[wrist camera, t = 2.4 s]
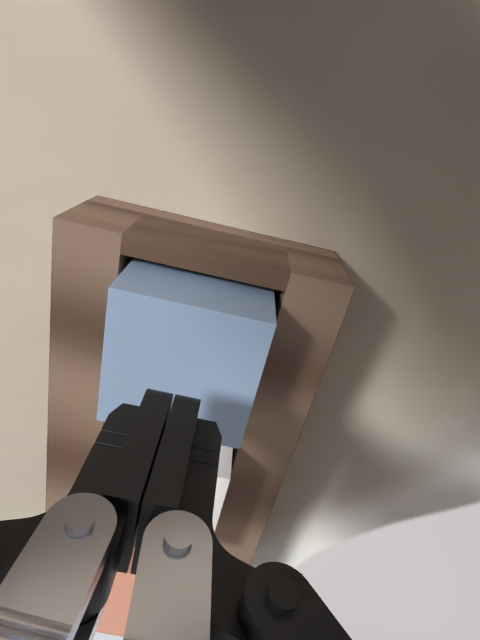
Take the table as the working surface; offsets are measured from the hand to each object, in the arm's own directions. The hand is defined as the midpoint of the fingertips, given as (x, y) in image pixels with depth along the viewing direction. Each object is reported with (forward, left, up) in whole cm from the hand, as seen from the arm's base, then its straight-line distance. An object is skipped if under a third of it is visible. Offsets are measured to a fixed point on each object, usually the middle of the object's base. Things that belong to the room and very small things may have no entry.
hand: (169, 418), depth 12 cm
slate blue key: (0, 0, -5) cm, 5 cm away
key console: (+6, 0, -8) cm, 10 cm away
